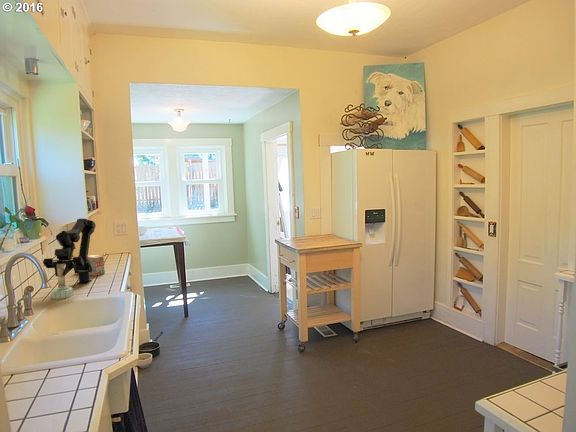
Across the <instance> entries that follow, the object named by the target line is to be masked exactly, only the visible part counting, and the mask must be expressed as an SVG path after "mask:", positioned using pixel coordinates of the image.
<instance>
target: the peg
mask: <svg viewBox="0 0 576 432" xmlns="http://www.w3.org/2000/svg"><path fill="white" fill-rule="evenodd" d="M64 269H65V264H57V287H58V288H65V287H67V286H66V278H65V277H66V275H65V276H63V272H64ZM58 288H57V289H58Z"/></svg>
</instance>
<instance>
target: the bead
mask: <svg viewBox="0 0 576 432" xmlns="http://www.w3.org/2000/svg"><path fill="white" fill-rule="evenodd" d="M73 289H74V288H73V287H71V286H70V287H69V286H66V287H65V288H55V289H52V290H51V298H52V299H55V300H58V299H59V300H60V299H61V300H62V299H67V298H69V297H72V296H73V295H74V290H73Z"/></svg>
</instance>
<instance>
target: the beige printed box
mask: <svg viewBox="0 0 576 432" xmlns="http://www.w3.org/2000/svg"><path fill="white" fill-rule="evenodd" d="M88 259H89V261H90V264H91V266H92V268H93V270H92V272H89V276H94V277H98V276H101V274H102V275H105V274H106V273H105V260H104V259H105V256H104V255H98V254H90V255H89V254H88ZM97 275H98V276H97Z"/></svg>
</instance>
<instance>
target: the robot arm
mask: <svg viewBox="0 0 576 432" xmlns="http://www.w3.org/2000/svg"><path fill="white" fill-rule="evenodd" d="M95 229H96V223H95V221H93V220H91V219H87V218H78V219H77V220H76V222H75V223H74V225H73V227H72V228H71V229H69V230H67V231H66V230H61V231H60V232H59V233H58V234H57V235H56V236H55V239H56V241H57V242H58V244H59V245H60V246H61V248H55V249H54V256H55V257H56V259H53V258H52V257H47V258H43V261H42V264H43V266H44V267H45V268H46V269H54V274H55V277H57V278H58V276H57V264H64V272H63V276H65V277H66V275H67V274H68V273H69V272H71V270H73V272H74V274H78V282H76V284H89V283H90V282H92V281H93V279H90V275H89V272H92V270H93V268H92V266H91V264H90V261H89V259H88V256H89V250H90V243H91V235H92V234H94V232H95ZM80 234H81V235H80ZM78 242H80V245H79V252H78V256H74V250H76V244H75V243H78Z"/></svg>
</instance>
